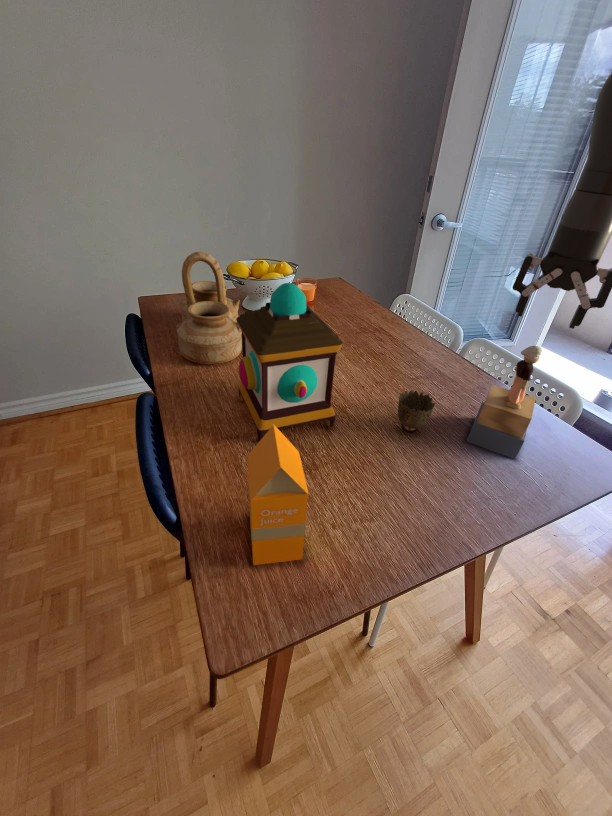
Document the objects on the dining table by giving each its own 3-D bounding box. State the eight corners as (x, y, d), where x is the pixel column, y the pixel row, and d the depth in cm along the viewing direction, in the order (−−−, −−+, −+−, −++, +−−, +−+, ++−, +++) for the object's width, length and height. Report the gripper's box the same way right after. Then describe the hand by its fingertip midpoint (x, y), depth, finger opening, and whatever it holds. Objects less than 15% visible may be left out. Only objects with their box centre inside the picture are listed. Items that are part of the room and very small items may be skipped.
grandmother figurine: (528, 412, 79) (555, 356, 72) (509, 411, 79) (534, 354, 71) (513, 391, 85) (537, 337, 78) (495, 390, 85) (517, 336, 78)
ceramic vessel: (249, 365, 107) (247, 272, 93) (178, 370, 103) (164, 273, 89) (238, 315, 134) (234, 237, 119) (181, 317, 130) (170, 236, 115)
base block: (521, 434, 90) (529, 416, 87) (515, 459, 83) (524, 441, 80) (475, 418, 94) (482, 401, 91) (466, 441, 86) (473, 423, 83)
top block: (526, 416, 87) (536, 397, 84) (522, 438, 80) (531, 419, 77) (484, 402, 90) (491, 384, 87) (476, 423, 84) (484, 403, 81)
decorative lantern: (254, 450, 80) (250, 308, 63) (231, 397, 95) (223, 270, 77) (343, 430, 87) (361, 297, 69) (309, 384, 102) (317, 264, 84)
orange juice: (252, 565, 59) (248, 469, 48) (249, 518, 67) (245, 424, 55) (303, 559, 61) (312, 464, 49) (295, 513, 68) (300, 421, 56)
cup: (429, 440, 86) (438, 410, 81) (395, 438, 86) (403, 408, 81) (421, 419, 92) (430, 390, 87) (390, 417, 92) (396, 388, 87)
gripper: (535, 220, 63) (500, 317, 72) (643, 236, 57) (589, 339, 66) (539, 214, 68) (506, 305, 77) (638, 227, 62) (589, 324, 72)
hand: (545, 320), depth 72 cm, fingers open, 8 cm apart
